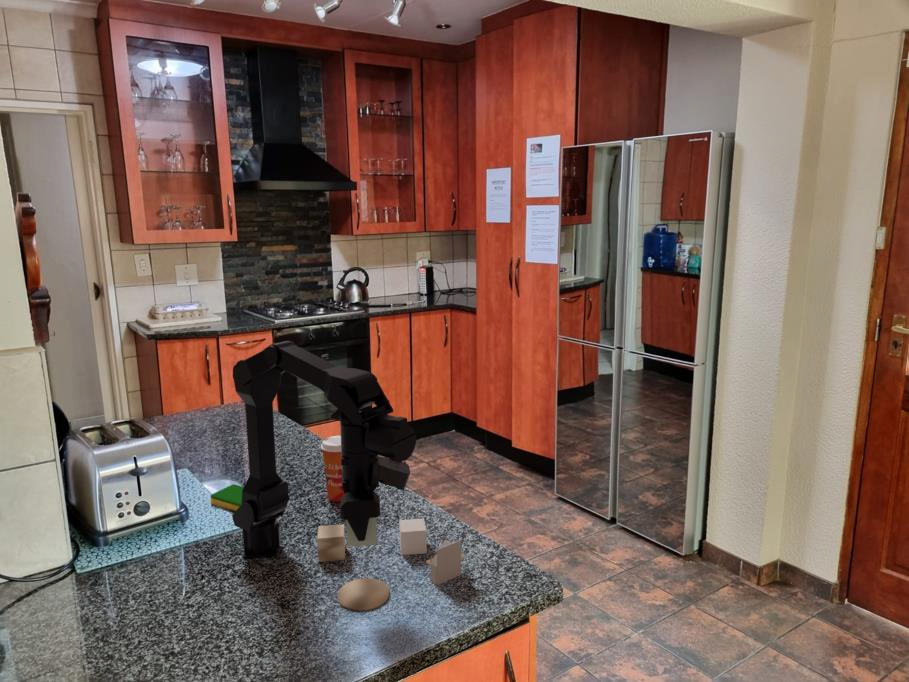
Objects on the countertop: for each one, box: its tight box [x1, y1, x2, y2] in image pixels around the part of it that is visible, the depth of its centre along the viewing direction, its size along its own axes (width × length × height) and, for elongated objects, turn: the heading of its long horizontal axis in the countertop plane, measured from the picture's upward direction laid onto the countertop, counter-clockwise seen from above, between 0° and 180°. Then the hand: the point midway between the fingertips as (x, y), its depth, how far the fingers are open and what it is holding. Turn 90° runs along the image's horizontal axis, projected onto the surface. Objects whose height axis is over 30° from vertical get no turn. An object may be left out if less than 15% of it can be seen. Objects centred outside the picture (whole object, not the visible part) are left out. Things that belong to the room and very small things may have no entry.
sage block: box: [345, 518, 378, 548], centre depth 113 cm, size 5×5×5 cm
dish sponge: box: [210, 483, 244, 512], centre depth 151 cm, size 7×14×2 cm, turn 61°
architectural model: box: [426, 539, 466, 586], centre depth 121 cm, size 3×7×7 cm, turn 128°
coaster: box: [337, 577, 390, 612], centre depth 115 cm, size 9×9×1 cm
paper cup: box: [320, 435, 344, 503], centre depth 153 cm, size 8×8×14 cm
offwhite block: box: [398, 518, 428, 556], centre depth 131 cm, size 5×5×5 cm
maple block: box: [316, 523, 346, 563], centre depth 129 cm, size 5×5×5 cm
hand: (361, 532), depth 113 cm, fingers closed on sage block, 5 cm apart
